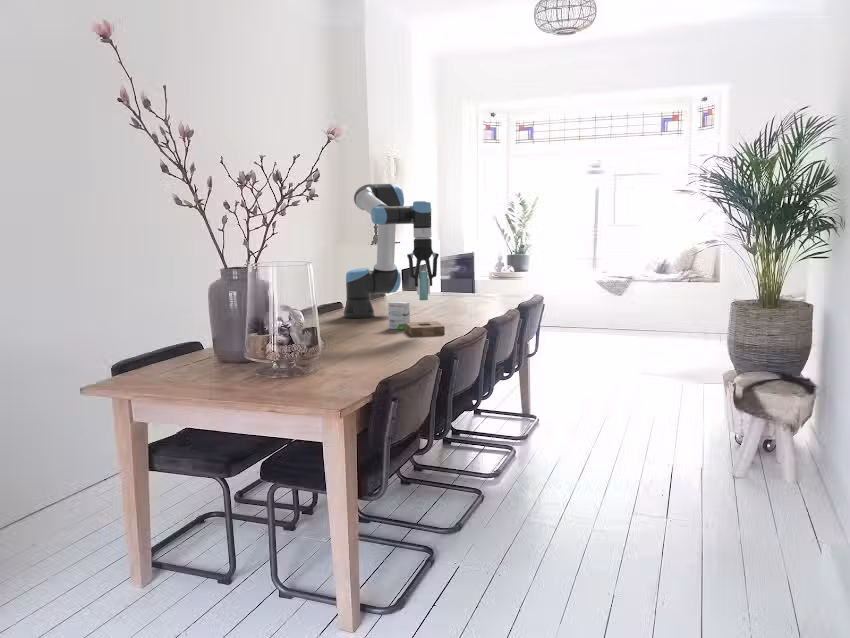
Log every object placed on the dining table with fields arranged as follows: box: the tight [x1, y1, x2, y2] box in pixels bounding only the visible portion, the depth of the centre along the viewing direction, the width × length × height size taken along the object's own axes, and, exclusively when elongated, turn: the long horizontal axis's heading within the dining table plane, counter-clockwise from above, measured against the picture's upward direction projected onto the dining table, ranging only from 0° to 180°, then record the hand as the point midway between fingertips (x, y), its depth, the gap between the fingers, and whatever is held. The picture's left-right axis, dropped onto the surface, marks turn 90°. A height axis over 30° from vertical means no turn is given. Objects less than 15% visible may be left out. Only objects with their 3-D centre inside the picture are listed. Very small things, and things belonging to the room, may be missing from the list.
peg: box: [418, 270, 429, 301], centre depth 298 cm, size 4×4×12 cm
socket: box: [405, 320, 446, 337], centre depth 301 cm, size 14×14×4 cm
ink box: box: [387, 301, 411, 331], centre depth 311 cm, size 9×5×12 cm, turn 60°
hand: (423, 293), depth 298 cm, fingers closed on peg, 3 cm apart
